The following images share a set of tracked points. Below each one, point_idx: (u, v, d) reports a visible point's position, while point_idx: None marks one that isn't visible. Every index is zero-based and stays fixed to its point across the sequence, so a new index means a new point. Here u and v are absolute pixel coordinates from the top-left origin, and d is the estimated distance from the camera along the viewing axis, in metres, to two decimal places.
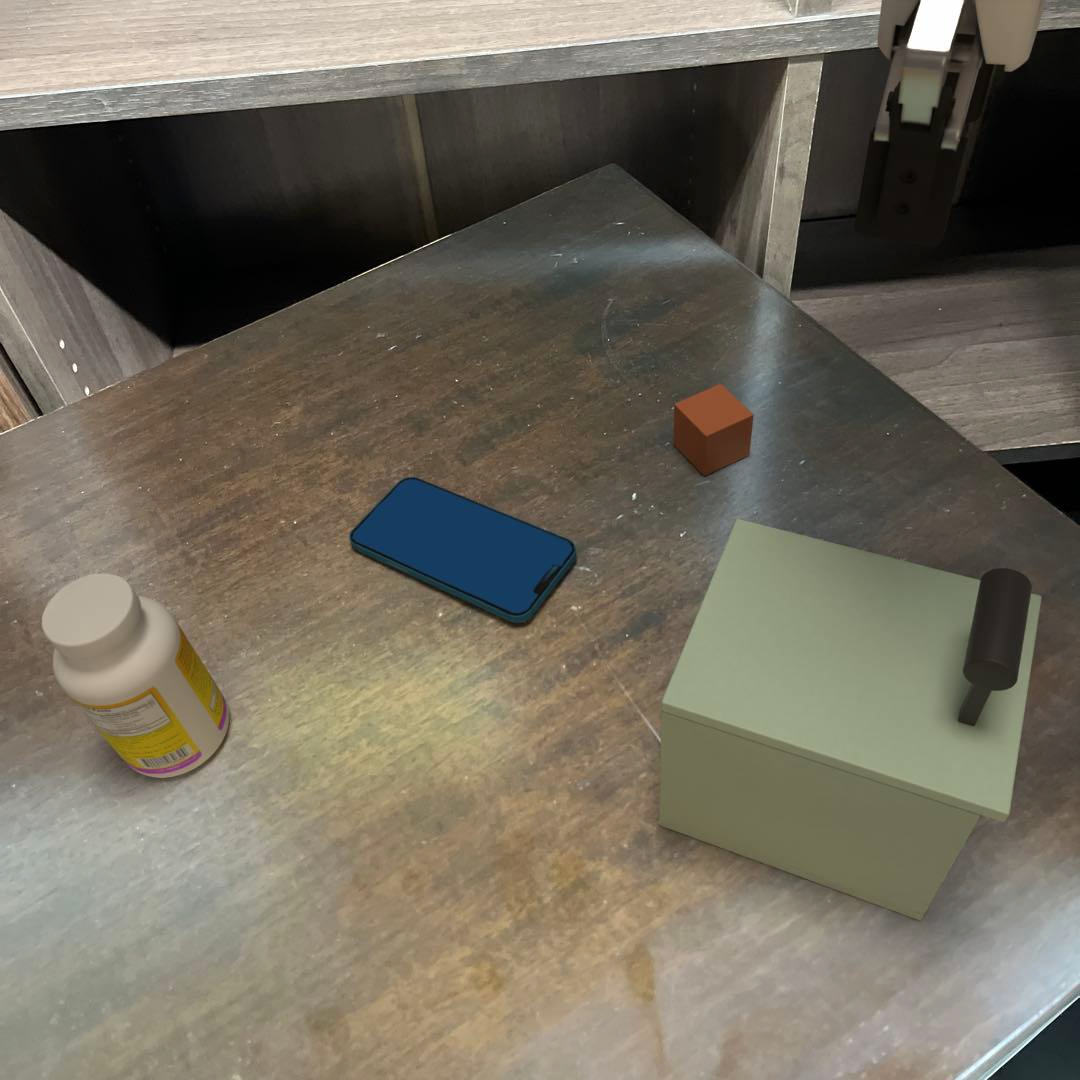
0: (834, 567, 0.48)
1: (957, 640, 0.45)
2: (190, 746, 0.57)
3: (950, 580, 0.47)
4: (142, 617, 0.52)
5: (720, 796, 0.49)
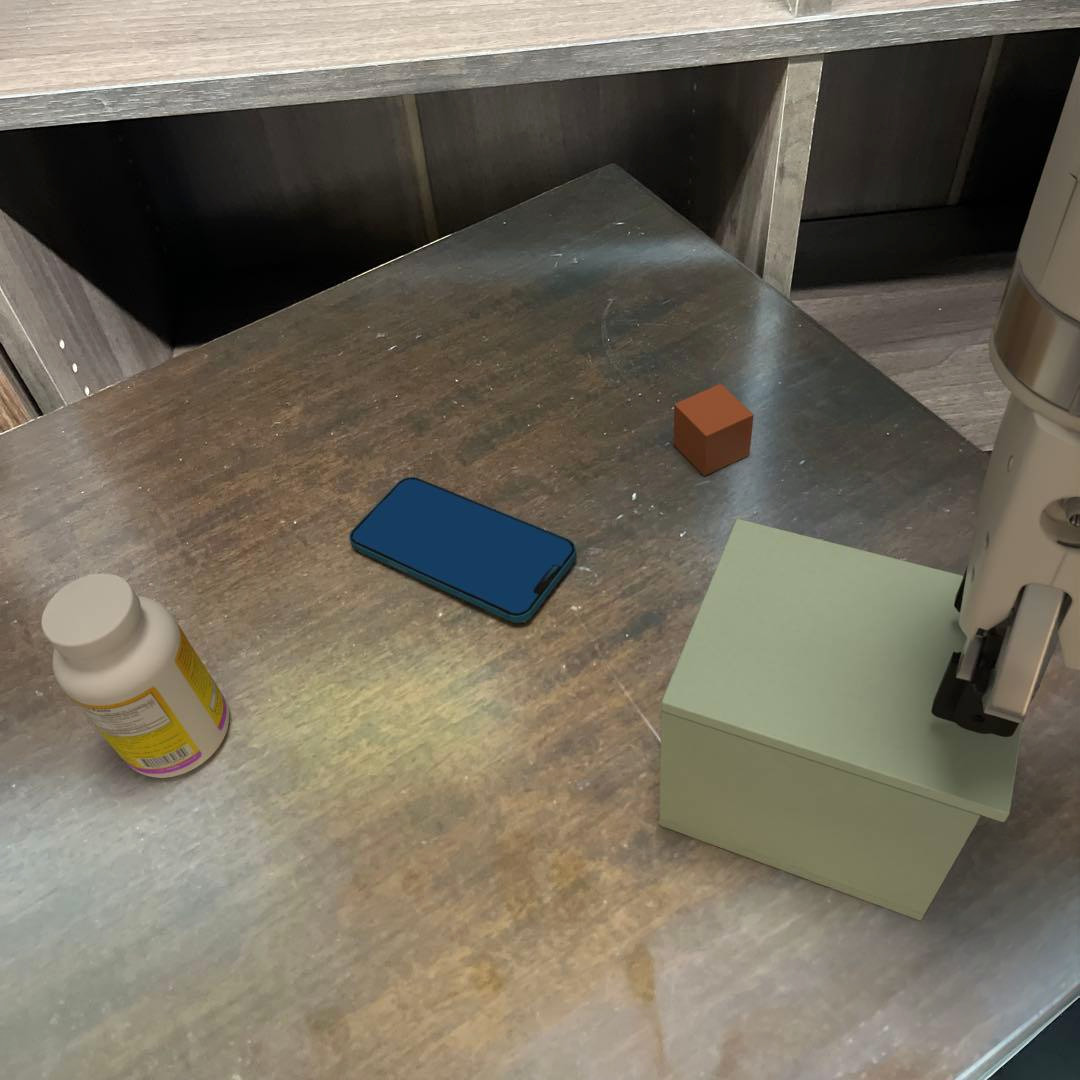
0: (834, 567, 0.48)
1: (957, 640, 0.45)
2: (189, 746, 0.57)
3: (950, 580, 0.47)
4: (142, 617, 0.52)
5: (720, 796, 0.49)
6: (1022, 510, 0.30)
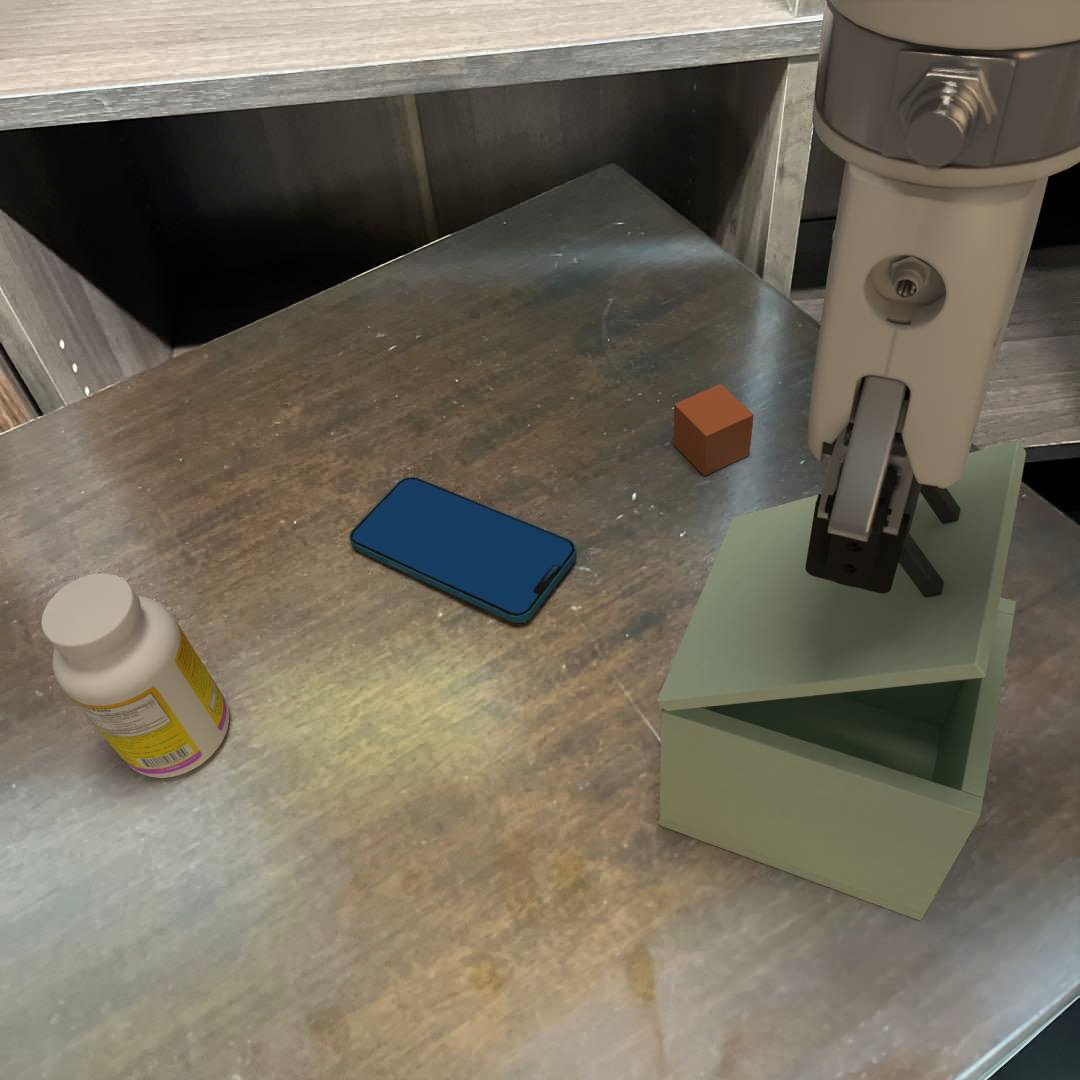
0: None
1: (928, 522, 0.41)
2: (189, 746, 0.57)
3: None
4: (142, 617, 0.52)
5: (720, 796, 0.49)
6: (846, 283, 0.27)
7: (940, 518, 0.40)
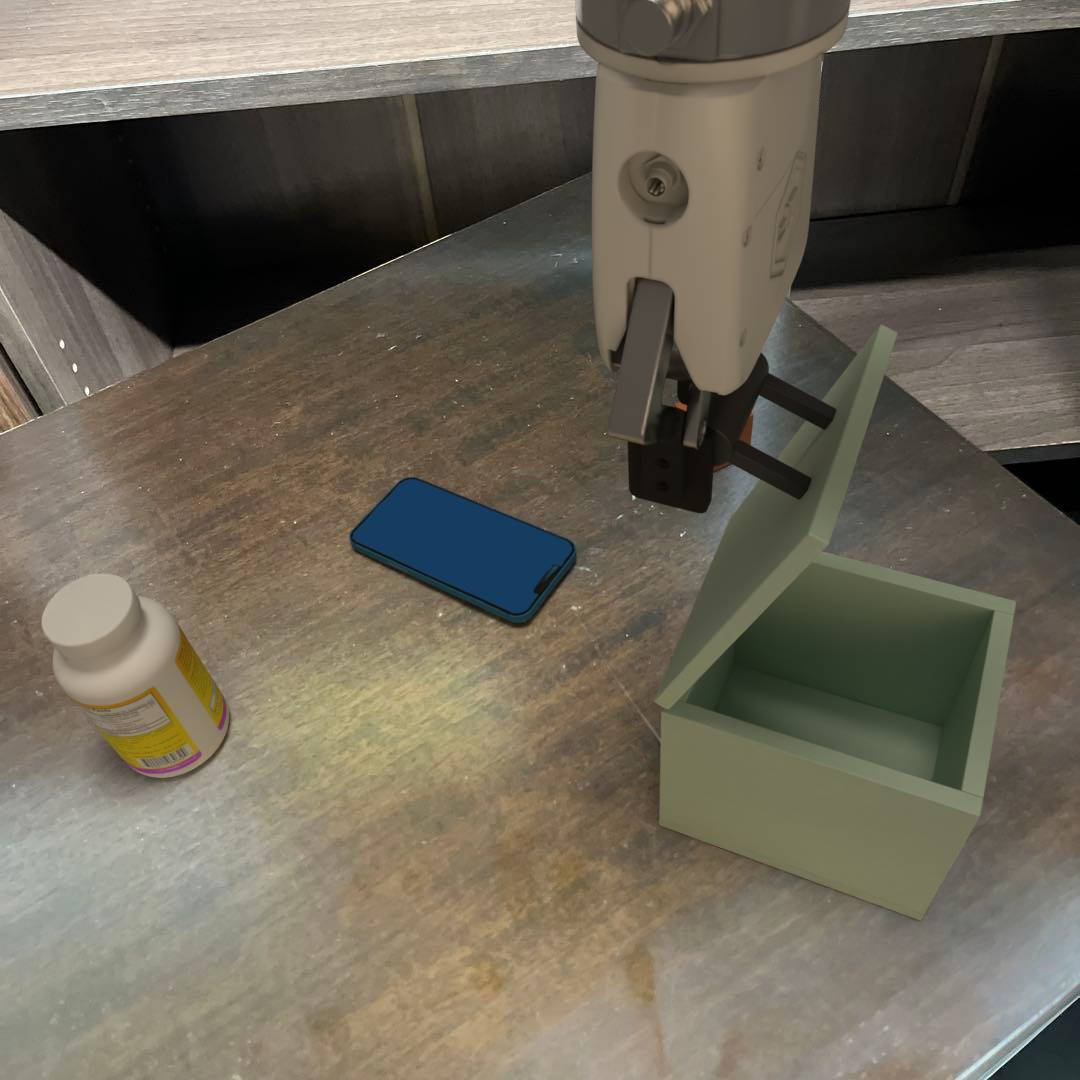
0: None
1: (818, 435, 0.40)
2: (189, 746, 0.57)
3: (827, 395, 0.42)
4: (142, 617, 0.52)
5: (720, 796, 0.49)
6: (603, 183, 0.28)
7: (818, 425, 0.39)
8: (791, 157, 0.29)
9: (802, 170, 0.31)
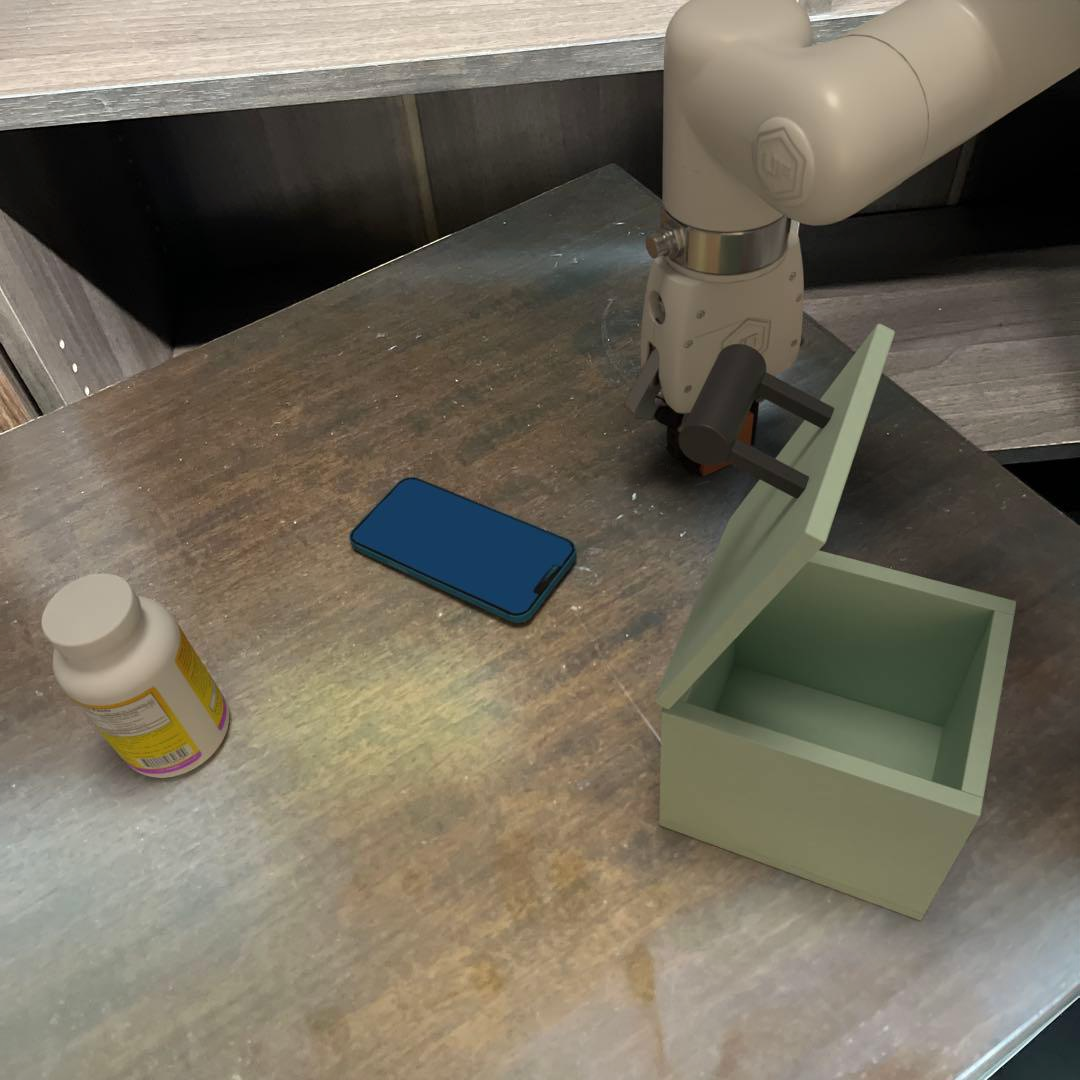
0: None
1: (816, 434, 0.40)
2: (189, 746, 0.57)
3: (826, 394, 0.42)
4: (142, 617, 0.52)
5: (720, 796, 0.49)
6: (646, 296, 0.61)
7: (815, 424, 0.39)
8: (739, 319, 0.60)
9: (764, 327, 0.62)
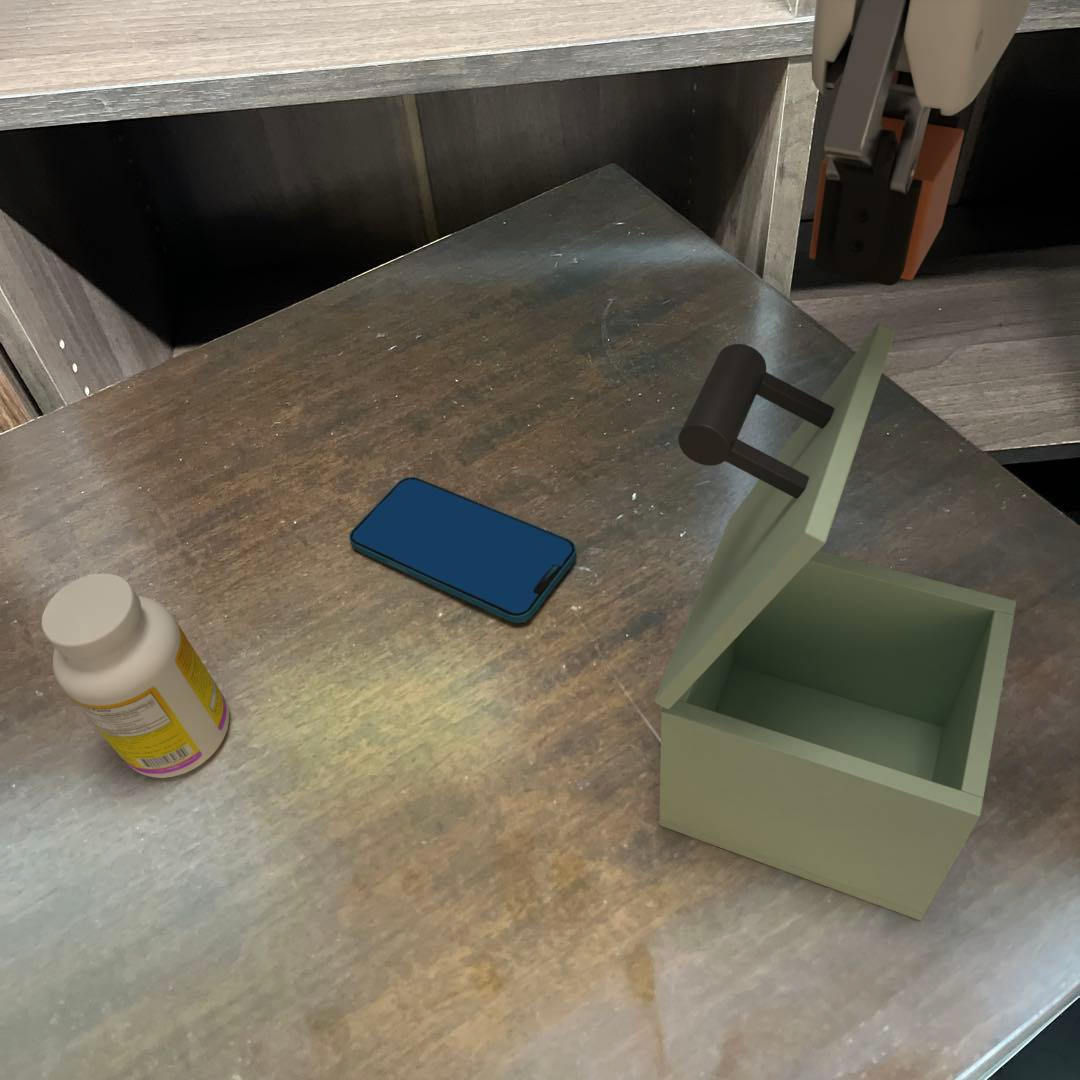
0: None
1: (816, 434, 0.40)
2: (189, 746, 0.57)
3: (826, 394, 0.42)
4: (142, 617, 0.52)
5: (720, 796, 0.49)
6: None
7: (815, 424, 0.39)
8: None
9: None
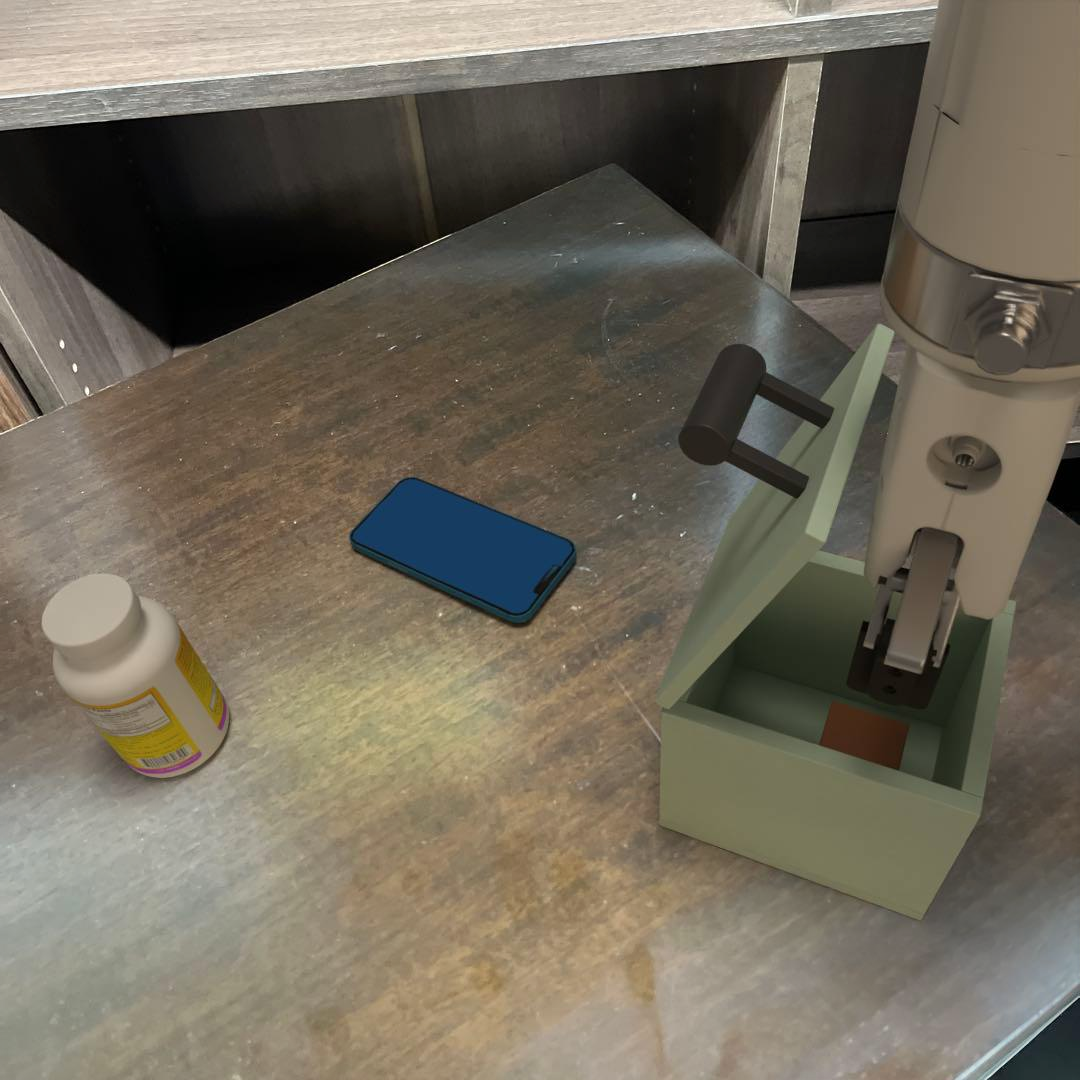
0: None
1: (816, 434, 0.40)
2: (189, 746, 0.57)
3: (826, 394, 0.42)
4: (142, 617, 0.52)
5: (720, 796, 0.49)
6: (910, 451, 0.30)
7: (815, 424, 0.39)
8: None
9: None
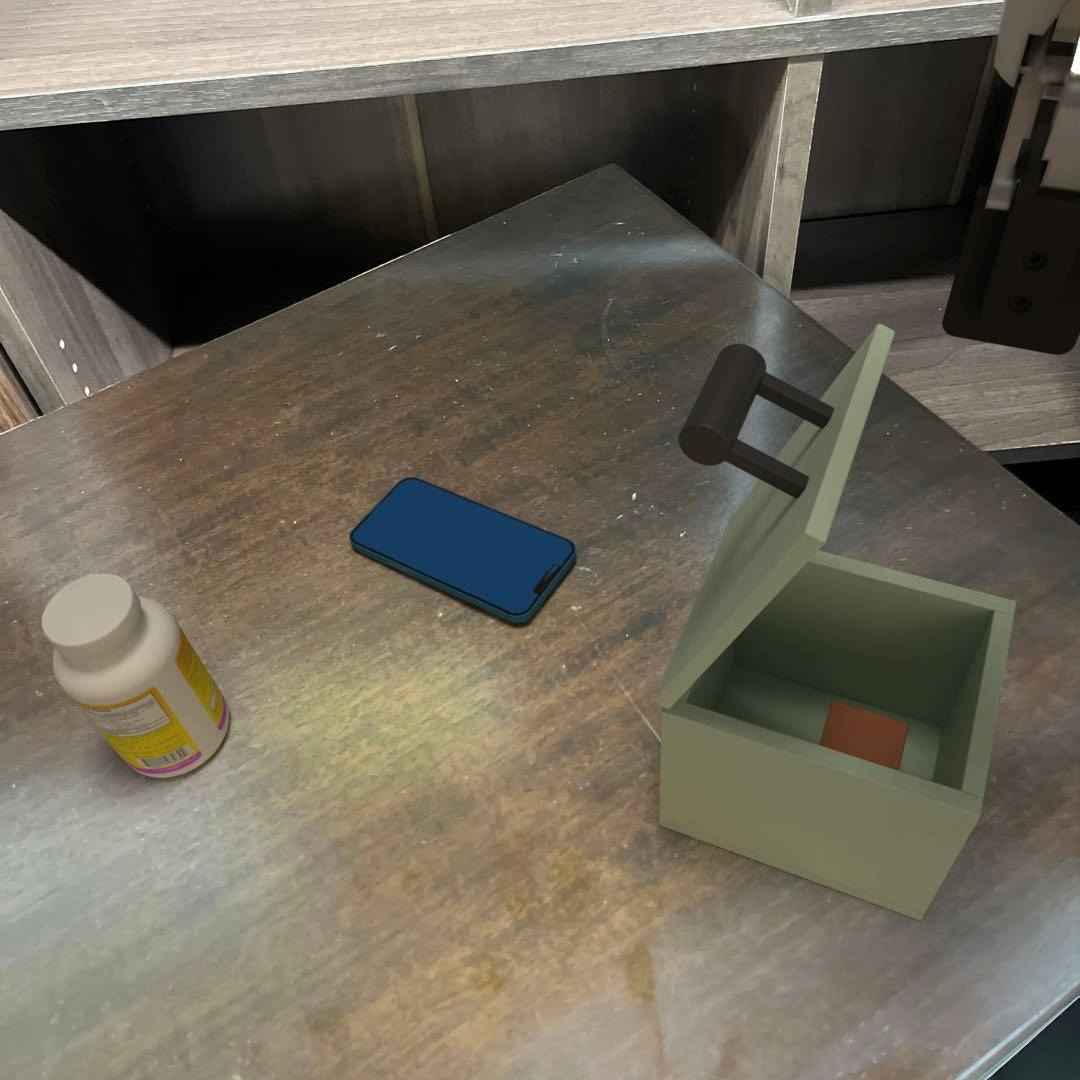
0: None
1: (816, 434, 0.40)
2: (189, 746, 0.57)
3: (826, 394, 0.42)
4: (142, 617, 0.52)
5: (720, 796, 0.49)
6: None
7: (815, 424, 0.39)
8: None
9: None
